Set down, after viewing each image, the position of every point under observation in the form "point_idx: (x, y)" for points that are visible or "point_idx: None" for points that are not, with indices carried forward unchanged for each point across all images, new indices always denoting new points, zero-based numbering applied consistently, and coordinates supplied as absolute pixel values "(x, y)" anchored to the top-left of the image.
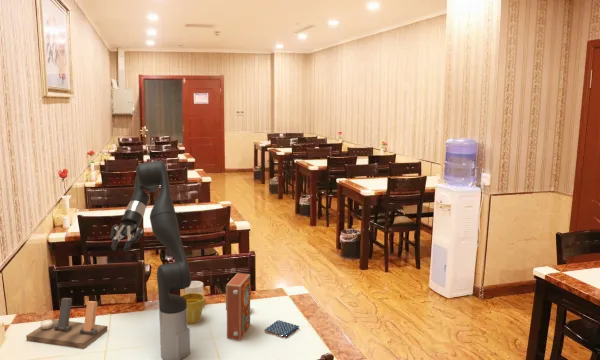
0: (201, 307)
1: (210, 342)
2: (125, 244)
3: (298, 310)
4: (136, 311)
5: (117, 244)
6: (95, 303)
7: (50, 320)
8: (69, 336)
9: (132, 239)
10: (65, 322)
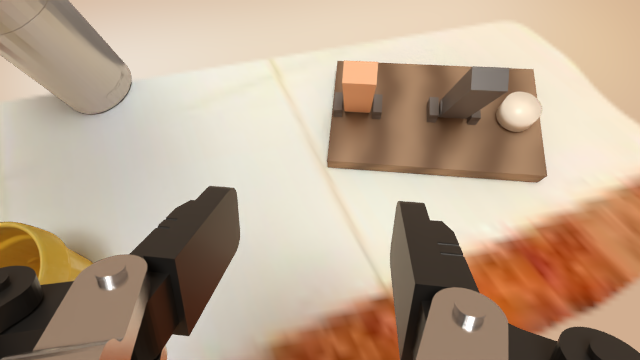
0: None
1: (9, 154)
2: (202, 219)
3: None
4: (297, 330)
5: (397, 327)
6: (343, 70)
7: (518, 118)
8: (402, 85)
9: (31, 271)
10: (445, 95)
